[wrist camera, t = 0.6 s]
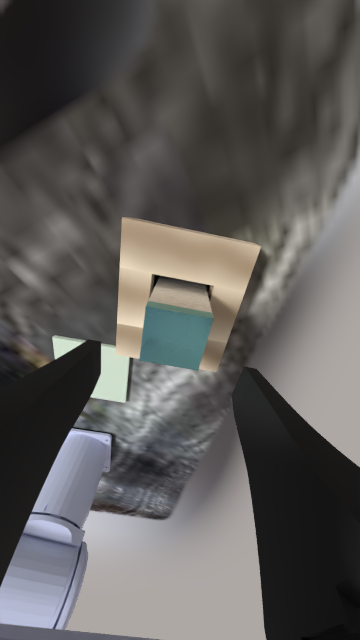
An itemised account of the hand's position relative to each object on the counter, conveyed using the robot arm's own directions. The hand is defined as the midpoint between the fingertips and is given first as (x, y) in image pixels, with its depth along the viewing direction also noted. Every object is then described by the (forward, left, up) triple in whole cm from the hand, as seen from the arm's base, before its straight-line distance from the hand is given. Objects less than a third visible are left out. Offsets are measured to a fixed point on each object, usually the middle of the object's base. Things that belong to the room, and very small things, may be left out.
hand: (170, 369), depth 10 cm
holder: (0, 0, -10) cm, 10 cm away
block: (0, 0, -10) cm, 10 cm away
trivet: (-11, +8, -10) cm, 16 cm away
